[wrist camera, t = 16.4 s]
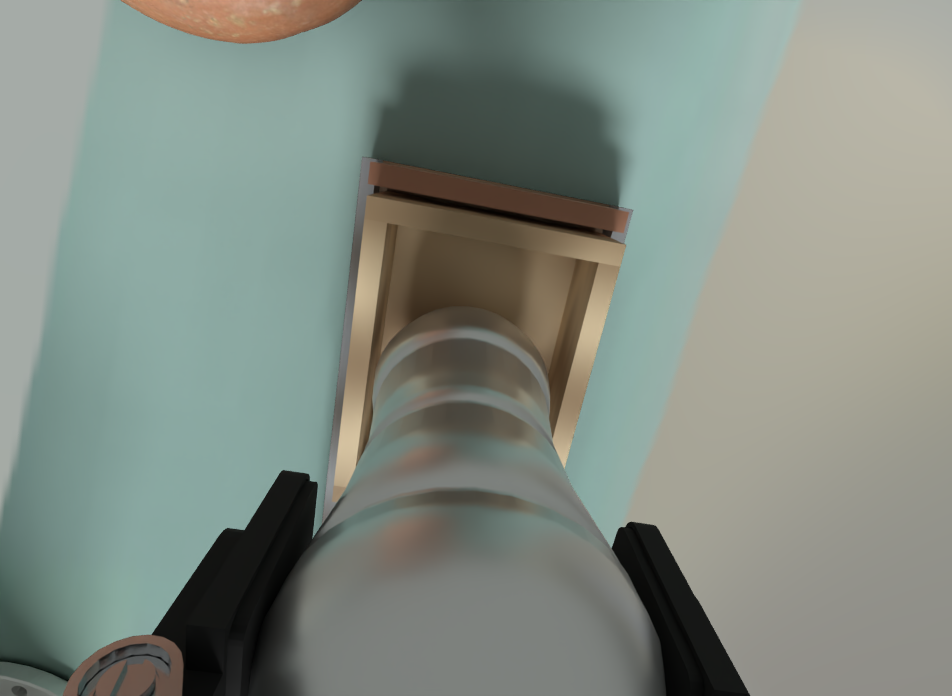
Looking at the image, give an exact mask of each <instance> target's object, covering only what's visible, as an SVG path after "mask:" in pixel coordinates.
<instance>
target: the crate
mask: <svg viewBox="0 0 952 696" xmlns="http://www.w3.org/2000/svg"><path fill="white" fill-rule="evenodd" d="M625 247H626V245H625V244H623V243H621V242H619V241H617V240H614V239H612V238H610V237H608V236H606V235H603V234H601V233H599V232H597V231H592V230H587V229H581V228H576V227H571V226H566V225H561V224H555V223H550V222H545V221H540V220H535V219H529V218H524V217H519V216H514V215H509V214H503V213H498V212H493V211H488V210H483V209H477V208H472V207H467V206H462V205H457V204H451V203H446V202H441V201H436V200H431V199H425V198H420V197H415V196H410V195H405V194H399V193H394V192H389V191H384V192H380V193H375V194H371V195H367V200H366V208H365V217H364V226H363V234H362V243H361V252H360V261H359V269H358V278H357V287H356V295H355V304H354V313H353V322H352V330H351V339H350V348H349V356H348V365H347V374H346V383H345V391H344V400H343V409H342V417H341V426H340V435H339V444H338V452H337V461H336V470H335V478H334V487H333V496H332V502H337V501H338V500H339V498H340V497H341V495H342V494H343V492H344V491H345V489H346V487H347V485H348V483H349V481H350V479H351V477H352V475H353V472H354V470H355V468H356V466H357V464H358V462H359V460H360V458H361V456H362V454H363V452H364V450H365V447H366V445H367V443H368V441H369V435H370V430H371V425H372V419H373V403H372V395H373V384H374V377H375V370H376V367H377V364H378V361H379V359H380V356H381V354H382V352H383V351H384V349H385V348H386V346H387V345H388V343H389V342H390V340H391V339H392V338H393V337H394V336H395V335H396V334H397V333H398V332H399V331H400V330H401V329H403V328H404V327H405V326H407V325H408V324H409V323H411V322H413V321H414V320H416V319H417V318H419V317H420V316H422V315H424V314H426V313H429V312H431V311H434V310H436V309H441V308H446V307H451V306H470V307H475V308H481V309H485V310H488V311H490V312H493V313H496V314H498V315H500V316H501V317H503V318H505V319H506V320H508V321H510V322H511V323H512V324H514V325H515V326H516V327H518V328H519V329H520V330H521V331H522V332H523V333H524V334H525V335H526V336H527V337H529V338H530V339H531V341H532V342H533V344H534V345H535V346H536V348H537V349H538V351H539V352H540V354H541V356H542V359H543V361H544V363H545V366H546V369H547V374H548V379H549V388H550V413H549V421H550V427H551V433H552V439H553V445H554V447H555V449H556V451H557V454H558V456H559V458H560V460H561V463H562V465H563V467H564V468H565V465H566V461H567V457H568V454H569V450H570V446H571V443H572V439H573V436H574V432H575V428H576V425H577V421H578V418H579V414H580V410H581V407H582V403H583V399H584V396H585V392H586V389H587V385H588V381H589V378H590V374H591V370H592V367H593V363H594V360H595V356H596V352H597V349H598V345H599V342H600V338H601V334H602V331H603V327H604V323H605V320H606V316H607V313H608V309H609V305H610V302H611V298H612V294H613V291H614V287H615V284H616V280H617V276H618V273H619V269H620V265H621V262H622V258H623V255H624V251H625Z"/></svg>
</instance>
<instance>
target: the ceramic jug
mask: <svg viewBox="0 0 952 696" xmlns="http://www.w3.org/2000/svg"><path fill="white" fill-rule="evenodd" d="M121 1H123V2H124V3H126V4H127V5H129V6H131V7H132V8H134V9H136V10H137V11H139V12H141V13H143V14H144V15H146V16H148V17H150V18H152V19H154V20H156V21H158V22H160V23H163V24H165V25H167V26H170V27H172V28H175V29H178V30H180V31H183V32H186V33H189V34H193V35H196V36H200V37H204V38H208V39H213V40H219V41H226V42H234V43H242V44H247V43H261V42H270V41H276V40H280V39H284V38H287V37H290V36H293V35H296V34H299V33H301V32H305V31H308V30H311V29H314V28H317V27H319V26H322V25H325V24H327V23H329V22H331V21H333V20H335V19H337V18H338V17H340V16H341V15H343V14H344V13H346V12H347V11H349V10H350V9H352V8H353V7H354V6H355V5H357V4H358V3H359V2H360V1H362V0H121Z"/></svg>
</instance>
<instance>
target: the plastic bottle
mask: <svg viewBox="0 0 952 696" xmlns="http://www.w3.org/2000/svg"><path fill="white" fill-rule="evenodd" d="M372 403H373V419H372V425H371V430H370V435H369V441H368V443H367V445H366V447H365V450H364V452H363V454H362V456H361V458H360V460H359V462H358V464H357V466H356V468H355V470H354V472H353V475H352V477H351V479H350V481H349V483H348V485H347V487H346V489H345V491H344V492H343V494H342V495H341V497H340V498H339V500H338V501H337V503H336V504H335V506H334V507H333V509H332V510H331V512H330V513H329V515H328V516H327V518H326V519H325V521H324V522H323V524H322V525H321V527H320V528H319V530H318V531H317V533H316V534H315V536H314V537H313V539H312V540H311V542H310V543H309V545H308V546H307V548H306V549H305V551H304V552H303V554H302V555H301V557H300V558H299V560H298V561H297V563H296V564H295V566H294V567H293V569H292V570H291V571H290V573H289V574H288V576H287V577H286V579H285V581H284V583H283V585H282V587H281V589H280V591H279V592H278V594H277V596H276V598H275V600H274V602H273V604H272V605H271V607H270V609H269V611H268V612H267V614H266V616H265V618H264V620H263V623H262V626H261V628H260V632H259V637H258V641H257V645H256V649H255V653H254V657H253V662H252V666H251V675H250V685H249V694H248V696H666V685H665V674H664V665H663V658H662V651H661V644H660V640H659V637H658V635H657V633H656V631H655V628H654V626H653V624H652V621H651V619H650V617H649V614H648V612H647V610H646V608H645V607H644V605H643V603H642V601H641V599H640V597H639V595H638V593H637V591H636V589H635V587H634V585H633V583H632V581H631V579H630V577H629V575H628V573H627V572H626V570H625V569H624V568H623V566H622V565H621V564H620V562H619V560H618V558H617V557H616V555H615V553H614V552H613V550H612V549H611V547H610V546H609V544H608V542H607V541H606V539H605V538H604V536H603V534H602V533H601V531H600V530H599V528H598V527H597V525H596V523H595V522H594V520H593V519H592V517H591V516H590V514H589V512H588V511H587V509H586V508H585V506H584V505H583V503H582V501H581V500H580V498H579V497H578V495H577V494H576V492H575V490H574V489H573V487H572V485H571V483H570V481H569V478H568V476H567V474H566V472H565V469H564V467H563V465H562V463H561V460H560V458H559V456H558V454H557V451H556V449H555V447H554V445H553V439H552V433H551V427H550V421H549V413H550V388H549V379H548V374H547V369H546V366H545V363H544V361H543V359H542V356H541V354H540V352H539V351H538V349H537V348H536V346H535V345H534V344H533V342H532V341H531V339H530V338H529V337H527V336H526V335H525V334H524V333H523V332H522V331H521V330H520V329H519V328H518V327H516V326H515V325H514V324H512V323H511V322H510V321H508V320H506V319H505V318H503V317H501V316H500V315H498V314H496V313H493V312H490V311H488V310H485V309H481V308H475V307H470V306H451V307H446V308H441V309H436V310H434V311H431V312H429V313H426V314H424V315H422V316H420V317H419V318H417V319H416V320H414V321H413V322H411V323H409V324H408V325H407V326H405V327H404V328H403V329H401V330H400V331H399V332H398V333H397V334H396V335H395V336H394V337H393V338H392V339H391V340H390V342H389V343H388V345H387V346H386V348H385V349H384V351H383V352H382V354H381V356H380V359H379V361H378V364H377V367H376V370H375V377H374V384H373V395H372Z"/></svg>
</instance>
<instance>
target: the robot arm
mask: <svg viewBox="0 0 952 696" xmlns="http://www.w3.org/2000/svg"><path fill="white" fill-rule="evenodd" d="M317 488H318V484H317V482H312V481H310V476H309V474H306V473H299V472H292V471H285V470H283V471H281V473H280V474H279V475H278V477H277V479H276V480H275V482H274V484H273V485H272V487H271V488H270V490H269V492H268V493H267V495H266V496H265V498H264V500H263V501H262V503H261V504H260V506H259V508H258V509H257V511H256V513H255V514H254V516H253V517H252V519H251V521H250V522H249V524H248V525H247V527H246V529H245V530H238V529H231V528H227V529H225V530H223V532H222V533H221V534H220V535H219V537H218V538H217V540H216V541H215V542H214V544H213V545H212V547H211V548H210V550H209V551H208V553H207V554H206V556H205V557H204V559H203V560H202V562H201V563H200V564H199V566H198V567H197V569H196V570H195V572H194V573H193V575H192V576H191V578H190V579H189V581H188V582H187V584H186V585H185V586H184V588H183V589H182V591H181V592H180V594H179V595H178V597H177V598H176V600H175V601H174V603H173V604H172V606H171V607H170V608H169V610H168V611H167V613H166V614H165V616H164V617H163V619H162V620H161V622H160V623H159V625H158V626H157V628H156V629H155V630H154V632H153V633H152V635H141V636H132V637H128V638H125V639H122V640H119V641H115V642H113V643H111V644H109V645H107V646H106V647H104V648H102V649H100V650H98V651H96V652H95V653H94V654H93V655H91V656H90V657H89V658H88V659H86V660H85V661H84V662H82V664H81V665H80V666H79V667H78V668H77V670H76V671H75V672H74V673H73V674H72V675H71V677H70V679H69V681H68V682H67V681H65V680H63V679H61V678H59V677H57V676H55V675H53V674H51V673H48V672H45V671H42V670H39V669H36V668H33V667H30V666H26V665H21V664H16V663H11V662H0V696H248V694H249V685H250V675H251V666H252V662H253V657H254V653H255V649H256V645H257V641H258V637H259V632H260V628H261V626H262V623H263V620H264V618H265V616H266V614H267V612H268V611H269V609H270V607H271V605H272V604H273V602H274V600H275V598H276V596H277V594H278V592H279V591H280V589H281V587H282V585H283V583H284V581H285V579H286V577H287V576H288V574H289V573H290V571H291V570H292V569H293V567H294V566H295V564H296V563H297V561H298V560H299V558H300V557H301V555H302V554H303V552H304V551H305V549H306V548H307V546H308V545H309V543H310V542H311V540H312V536H313V527H314V517H315V508H316V498H317ZM612 550H613V552H614V553H615V555H616V557H617V558H618V560H619V562H620V564H621V565H622V566H623V568H624V569H625V570H626V572H627V573H628V575H629V577H630V579H631V581H632V583H633V585H634V587H635V589H636V591H637V593H638V595H639V597H640V599H641V601H642V603H643V605H644V607H645V608H646V610H647V612H648V614H649V617H650V619H651V621H652V624H653V626H654V628H655V631H656V633H657V635H658V637H659V640H660V644H661V651H662V658H663V665H664V674H665V685H666V696H750V694H749V693H748V691H747V689H746V687H745V685H744V683H743V682H742V680H741V678H740V676H739V674H738V672H737V671H736V669H735V667H734V665H733V663H732V661H731V660H730V658H729V656H728V654H727V653H726V650H725V649H724V647H723V645H722V643H721V642H720V639H719V638H718V636H717V634H716V632H715V630H714V628H713V627H712V625H711V623H710V621H709V619H708V617H707V616H706V614H705V612H704V610H703V608H702V606H701V605H700V603H699V601H698V600H697V598H696V597H695V596H694V594H693V592H692V590H691V588H690V587H689V585H688V583H687V581H686V579H685V577H684V576H683V574H682V572H681V570H680V568H679V566H678V564H677V563H676V561H675V559H674V557H673V556H672V554H671V552H670V550H669V548H668V546H667V544H666V542H665V541H664V539H663V537H662V535H661V533H660V531H659V530H658V528H657V527H656V526H654V525H650V524H642V523H636V522H629V523H628V524H627V525H626V527H620V528H619V529H618V531H617V534H616V537H615V540H614V543H613V546H612Z"/></svg>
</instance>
